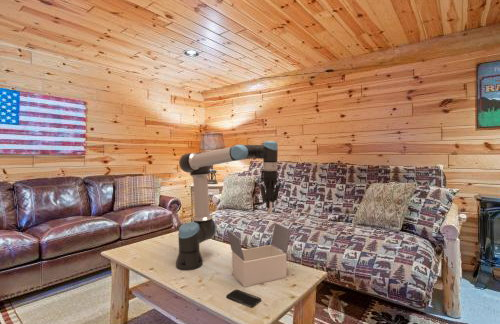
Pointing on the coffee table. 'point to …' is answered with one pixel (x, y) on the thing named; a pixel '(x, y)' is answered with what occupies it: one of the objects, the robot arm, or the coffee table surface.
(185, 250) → the robot arm
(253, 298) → the phone
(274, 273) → the carton
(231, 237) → the flap
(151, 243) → the coffee table surface
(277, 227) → the flap
